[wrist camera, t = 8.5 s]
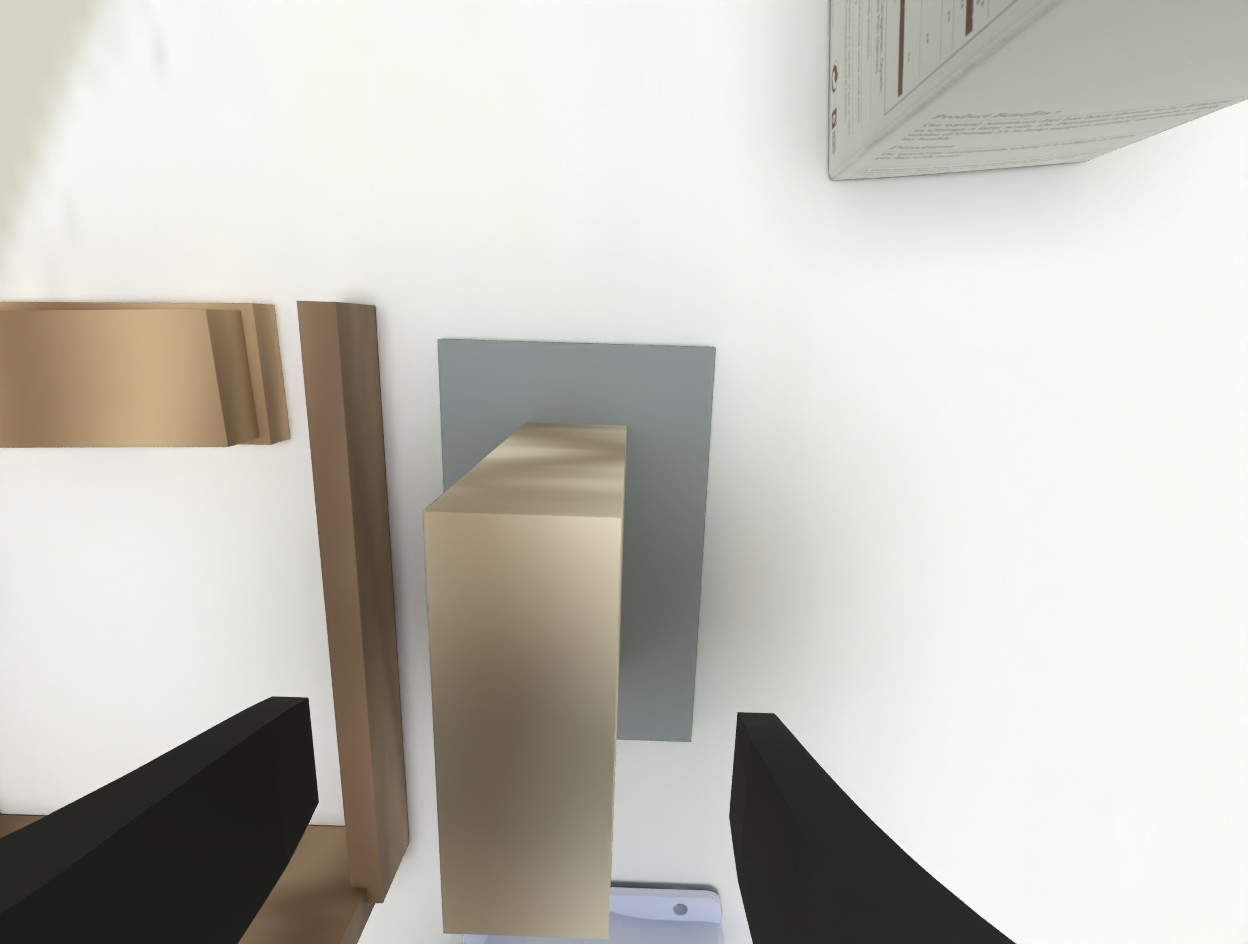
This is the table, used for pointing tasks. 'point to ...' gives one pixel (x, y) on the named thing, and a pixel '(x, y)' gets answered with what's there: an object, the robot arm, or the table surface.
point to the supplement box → (1021, 79)
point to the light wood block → (528, 681)
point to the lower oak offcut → (258, 348)
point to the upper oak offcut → (124, 379)
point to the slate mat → (654, 484)
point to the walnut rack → (345, 645)
